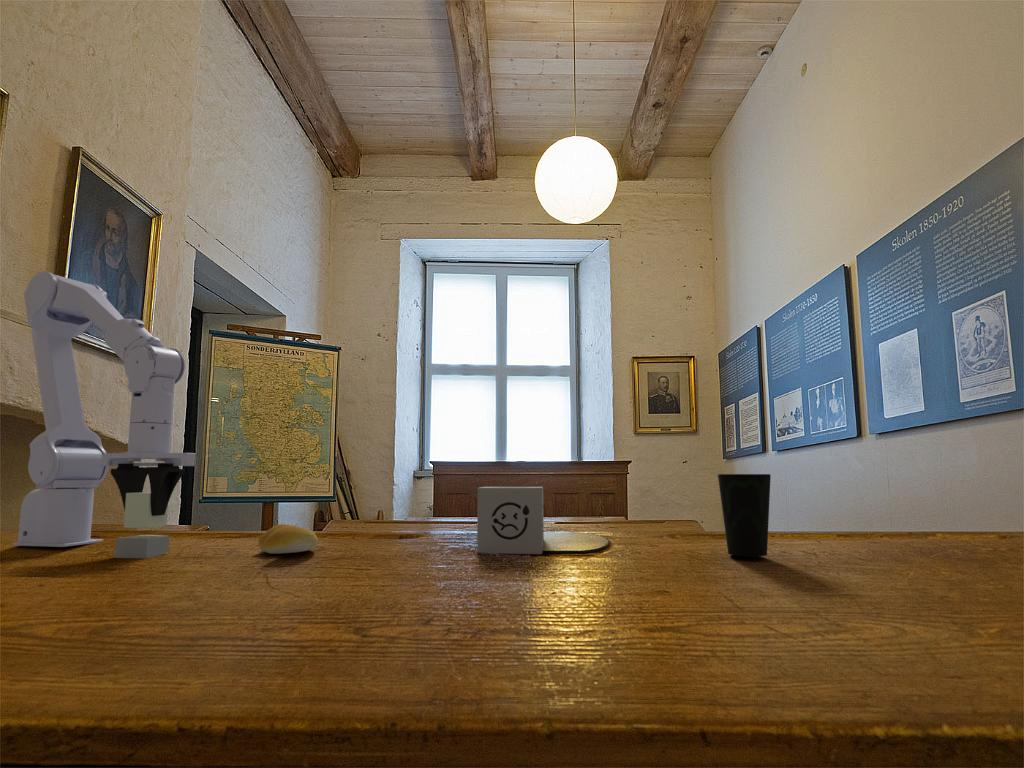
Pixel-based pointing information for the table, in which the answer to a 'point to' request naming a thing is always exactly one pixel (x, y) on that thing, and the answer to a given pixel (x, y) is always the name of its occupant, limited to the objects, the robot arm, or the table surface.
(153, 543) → the grey block
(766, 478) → the cup
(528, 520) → the icon cube
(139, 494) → the sage block
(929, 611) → the table surface
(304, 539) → the bread roll
